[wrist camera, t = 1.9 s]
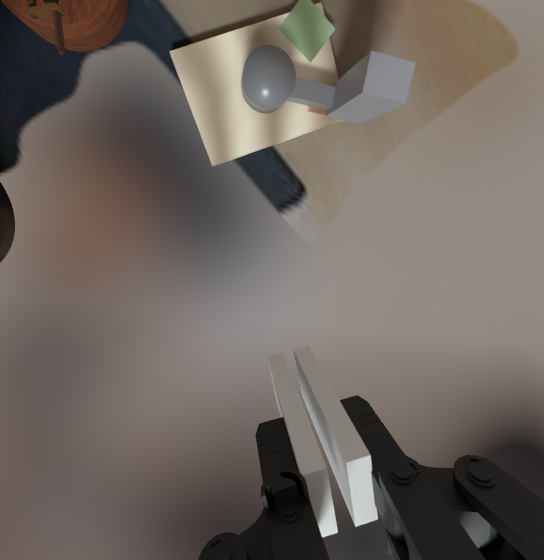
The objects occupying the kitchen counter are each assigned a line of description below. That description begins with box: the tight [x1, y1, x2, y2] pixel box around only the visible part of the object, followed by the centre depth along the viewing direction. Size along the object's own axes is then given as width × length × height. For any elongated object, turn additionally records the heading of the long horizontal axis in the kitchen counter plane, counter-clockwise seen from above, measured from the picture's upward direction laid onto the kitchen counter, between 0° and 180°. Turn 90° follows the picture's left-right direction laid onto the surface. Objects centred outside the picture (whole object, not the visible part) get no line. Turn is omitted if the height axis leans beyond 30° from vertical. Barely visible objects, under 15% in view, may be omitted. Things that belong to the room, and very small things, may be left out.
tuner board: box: [169, 0, 343, 166], centre depth 33 cm, size 17×12×1 cm
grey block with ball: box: [241, 45, 416, 124], centre depth 28 cm, size 14×5×9 cm, turn 81°
